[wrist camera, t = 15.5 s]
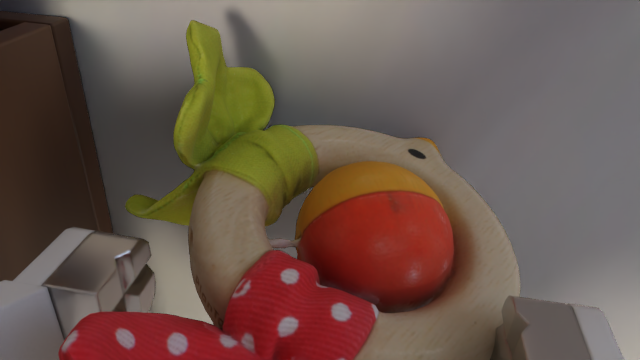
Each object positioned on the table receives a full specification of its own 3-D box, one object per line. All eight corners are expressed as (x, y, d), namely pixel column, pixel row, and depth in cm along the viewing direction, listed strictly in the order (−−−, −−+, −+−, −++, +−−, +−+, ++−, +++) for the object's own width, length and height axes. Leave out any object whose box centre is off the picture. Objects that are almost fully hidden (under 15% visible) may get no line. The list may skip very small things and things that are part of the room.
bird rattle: (438, 23, 14) (96, -2, 12) (876, 329, 6) (-104, 492, 3) (391, 199, 18) (117, 210, 15) (616, 565, 9) (52, 737, 6)
